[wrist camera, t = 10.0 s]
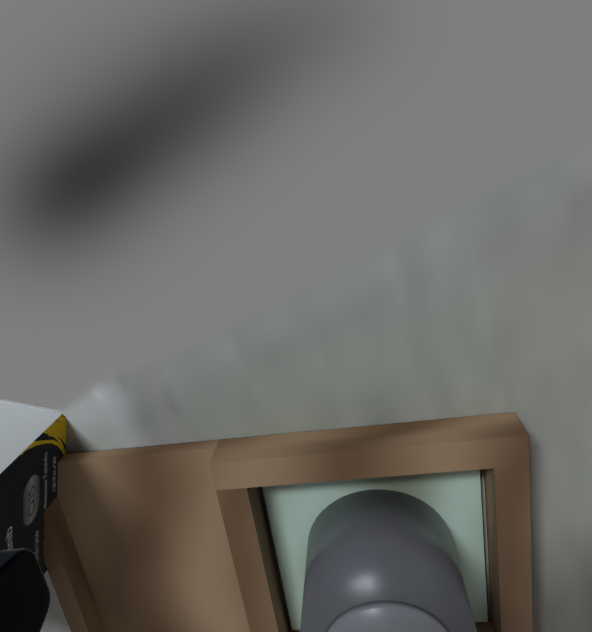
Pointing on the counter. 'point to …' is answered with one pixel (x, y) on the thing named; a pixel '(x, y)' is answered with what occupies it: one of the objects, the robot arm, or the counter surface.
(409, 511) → the cap
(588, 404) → the counter surface
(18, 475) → the medicine bottle
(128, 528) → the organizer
